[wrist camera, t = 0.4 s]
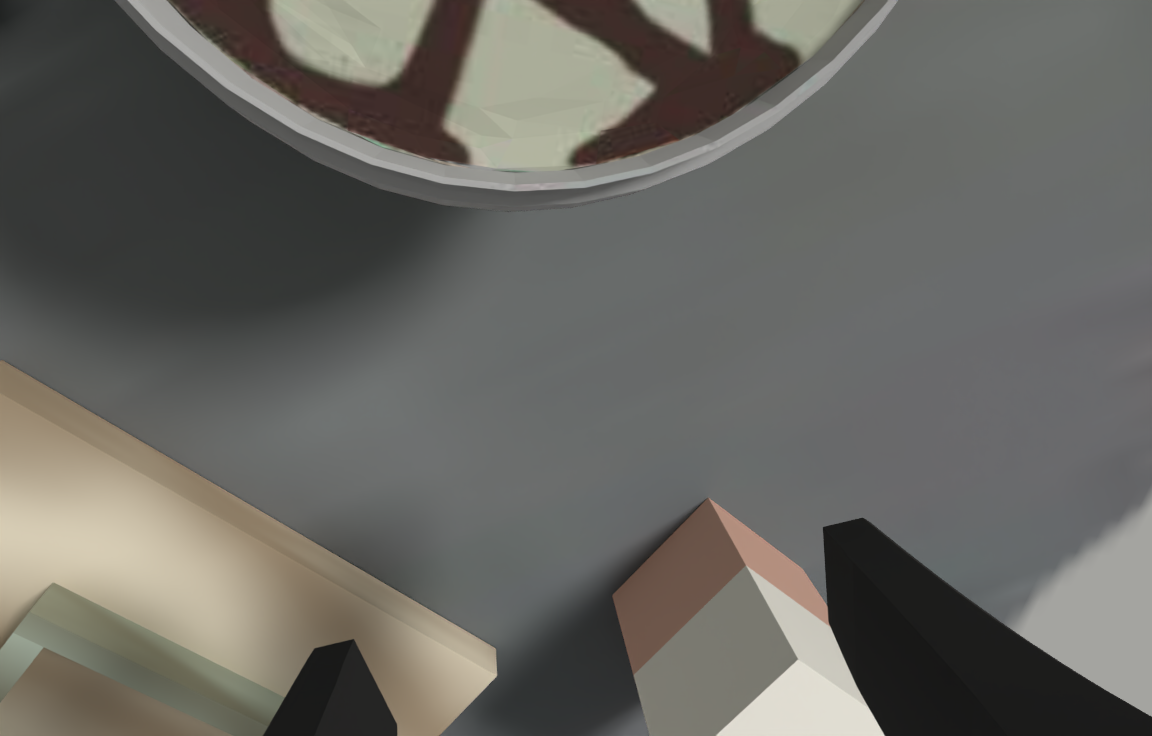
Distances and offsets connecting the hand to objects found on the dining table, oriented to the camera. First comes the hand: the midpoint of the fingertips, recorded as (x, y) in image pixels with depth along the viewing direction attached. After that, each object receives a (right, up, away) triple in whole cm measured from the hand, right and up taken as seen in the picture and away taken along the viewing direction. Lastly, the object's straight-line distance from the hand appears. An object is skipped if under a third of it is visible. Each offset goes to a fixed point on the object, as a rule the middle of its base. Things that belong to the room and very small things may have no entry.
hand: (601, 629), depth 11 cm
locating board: (-14, -6, +12) cm, 19 cm away
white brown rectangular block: (+4, -3, +13) cm, 14 cm away
